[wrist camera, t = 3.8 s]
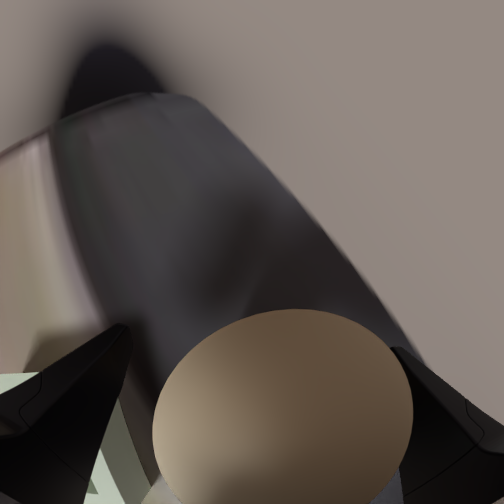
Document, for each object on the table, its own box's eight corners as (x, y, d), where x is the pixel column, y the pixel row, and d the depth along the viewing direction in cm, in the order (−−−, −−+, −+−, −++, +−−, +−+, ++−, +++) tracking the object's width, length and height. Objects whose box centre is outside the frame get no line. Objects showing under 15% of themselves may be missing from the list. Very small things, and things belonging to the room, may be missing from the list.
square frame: (151, 487, 11) (131, 516, 8) (54, 480, 10) (25, 496, 6) (110, 366, 14) (76, 368, 10) (20, 375, 13) (-16, 374, 9)
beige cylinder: (238, 413, 14) (245, 565, 2) (204, 359, 15) (100, 385, 3) (294, 381, 14) (443, 443, 3) (260, 328, 15) (337, 254, 4)
